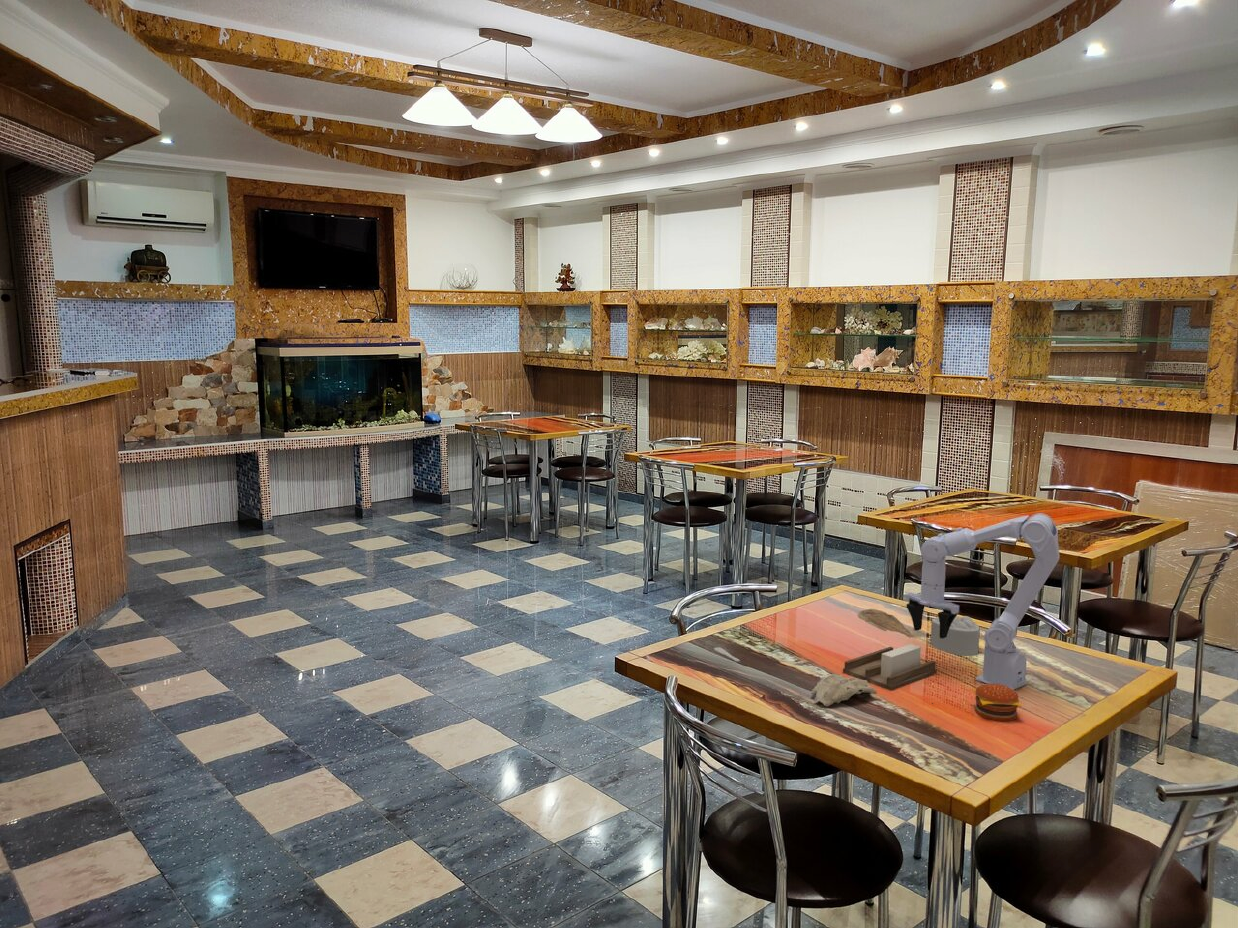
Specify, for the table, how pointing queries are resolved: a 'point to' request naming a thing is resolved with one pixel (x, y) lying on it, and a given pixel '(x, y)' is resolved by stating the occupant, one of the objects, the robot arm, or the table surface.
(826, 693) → the coral
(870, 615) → the fish fossil
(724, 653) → the butter knife
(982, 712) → the hamburger
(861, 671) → the rack
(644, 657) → the table surface
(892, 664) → the white rectangular block
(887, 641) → the table surface
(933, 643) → the lumpy-topped squat cylinder
